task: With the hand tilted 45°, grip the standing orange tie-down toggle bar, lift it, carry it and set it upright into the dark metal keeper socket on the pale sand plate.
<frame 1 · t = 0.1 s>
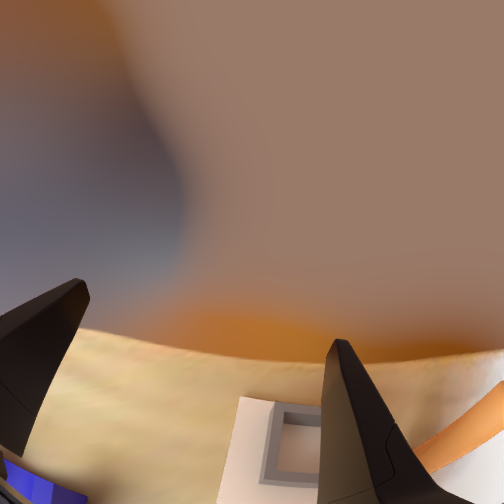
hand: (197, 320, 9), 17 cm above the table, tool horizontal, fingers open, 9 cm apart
toggle bar: (412, 466, 17), on the table
keeper plate: (298, 486, 16), on the table
cable clip: (27, 493, 10), on the table
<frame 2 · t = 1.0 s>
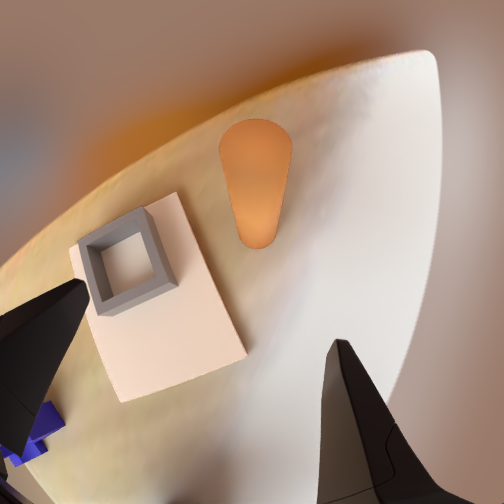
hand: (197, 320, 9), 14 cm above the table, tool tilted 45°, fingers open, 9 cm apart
toggle bar: (257, 230, 24), on the table
keeper plate: (147, 299, 23), on the table
cable clip: (39, 433, 20), on the table
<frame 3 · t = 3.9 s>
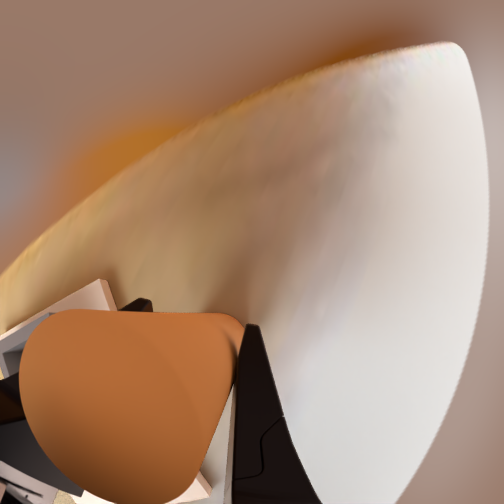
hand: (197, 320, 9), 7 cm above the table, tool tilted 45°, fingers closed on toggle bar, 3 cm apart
toggle bar: (218, 341, 15), on the table, touching gripper
keeper plate: (85, 415, 14), on the table
when the fingers open (8 cm above the table, at t = 7.7 s): toggle bar stays where it is, resting on keeper plate.
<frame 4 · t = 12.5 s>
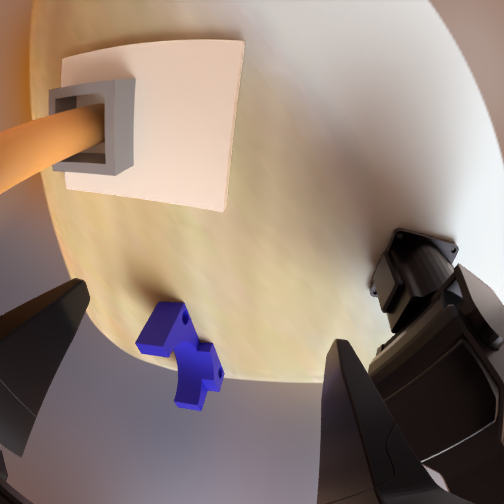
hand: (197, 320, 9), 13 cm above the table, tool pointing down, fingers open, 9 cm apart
toggle bar: (99, 123, 18), point 1 cm above the table, touching keeper plate
keeper plate: (137, 120, 18), on the table
cable clip: (195, 339, 31), on the table
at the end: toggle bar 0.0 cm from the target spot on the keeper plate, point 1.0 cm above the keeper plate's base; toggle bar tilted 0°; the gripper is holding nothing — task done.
